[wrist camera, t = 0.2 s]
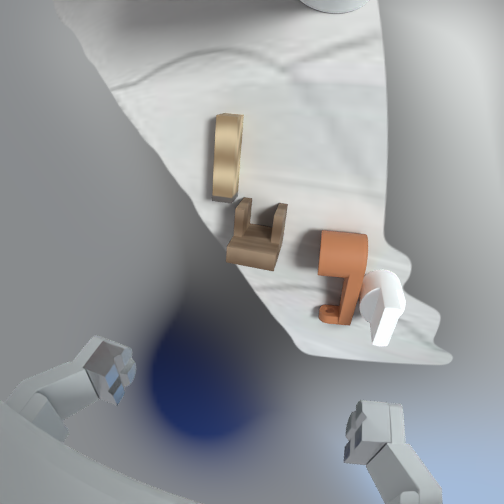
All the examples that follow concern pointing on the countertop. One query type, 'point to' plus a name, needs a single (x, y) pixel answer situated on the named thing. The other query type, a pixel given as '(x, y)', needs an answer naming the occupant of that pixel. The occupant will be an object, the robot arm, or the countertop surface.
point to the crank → (343, 271)
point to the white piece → (381, 304)
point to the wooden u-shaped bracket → (256, 238)
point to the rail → (227, 157)
